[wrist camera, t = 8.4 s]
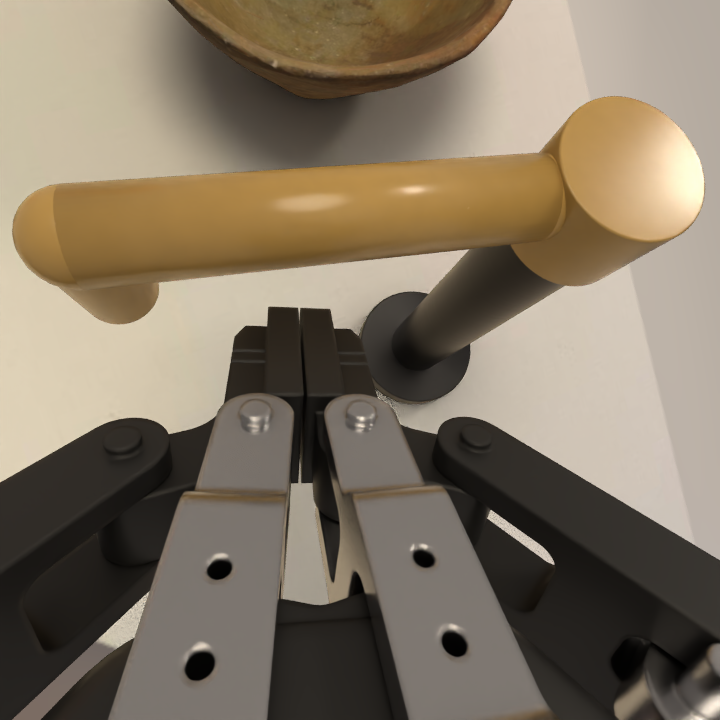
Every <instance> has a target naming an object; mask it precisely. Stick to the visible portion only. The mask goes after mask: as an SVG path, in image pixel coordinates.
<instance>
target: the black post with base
mask: <svg viewBox="0 0 720 720" xmlns="http://www.w3.org/2000/svg"><path fill="white" fill-rule="evenodd" d="M563 286H565V285H560V284H556V283H553V282H550V281H548V280H546V279H544V278H542V277H540V276H539V275H537V274H536V273H534V272H533V271H532V270H530V269H529V268H528V267H527V266H526V265H525V264H524V263H523V262H522V261H521V260H520V259H519V257H518V256H517V255H516V253H515V252H514V250H513V248H512V247H511V245H503V246H494V247H485V248H475V249H470V250H469V251H468V252H467V253H466V254H465V255H464V256H463V257H462V258H461V259H460V260H459V262H458V263H457V264H456V265H455V266H454V267H453V268H452V269H451V270H450V271H449V272H448V274H447V275H446V276H445V277H444V278H443V279H442V280H441V281H440V282H439V283H438V284H437V285H436V287H435V288H434V289H433V290H432V291H431V292H430V293H429V294H426V293H421V292H403V293H398V294H395V295H392V296H390V297H388V298H386V299H384V300H383V301H381V302H380V303H379V304H378V305H377V306H376V307H375V308H374V309H373V310H372V311H371V312H370V314H369V315H368V317H367V319H366V320H365V322H364V324H363V326H362V328H361V331H360V334H359V338H360V339H361V340H362V342H363V346H364V350H365V355H366V357H367V361H368V366H369V368H370V372H371V376H372V379H373V383H374V387H375V388H376V389H377V390H378V391H380V392H381V393H382V394H384V395H385V396H387V397H389V398H391V399H393V400H395V401H399V402H402V403H408V404H421V403H426V402H430V401H433V400H435V399H438V398H440V397H442V396H444V395H446V394H448V393H449V392H450V391H452V390H453V389H454V388H455V387H456V386H457V385H458V384H459V382H460V381H461V380H462V378H463V376H464V374H465V373H466V370H467V367H468V364H469V359H470V343H471V342H473V341H475V340H476V339H478V338H480V337H481V336H483V335H485V334H486V333H488V332H490V331H491V330H493V329H494V328H496V327H498V326H499V325H501V324H503V323H504V322H506V321H508V320H509V319H511V318H513V317H514V316H516V315H517V314H519V313H521V312H522V311H524V310H526V309H527V308H529V307H531V306H532V305H534V304H536V303H537V302H539V301H540V300H542V299H544V298H545V297H547V296H549V295H550V294H552V293H554V292H555V291H557V290H559V289H560V288H562V287H563Z"/></svg>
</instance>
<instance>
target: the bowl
mask: <svg viewBox="0 0 720 720" xmlns="http://www.w3.org/2000/svg"><path fill="white" fill-rule="evenodd" d="M168 1H169V2H170V3H171V4H172V5H173V6H174V7H175V8H176V10H177V11H178V12H179V13H180V14H181V15H182V16H183V17H184V18H185V19H186V20H187V21H188V22H189V23H190V24H191V25H192V26H193V27H194V28H195V29H196V30H197V31H198V32H199V33H200V34H201V35H202V36H203V37H205V38H206V39H207V40H208V41H209V42H210V43H212V44H213V45H214V46H215V47H217V48H218V49H220V50H221V51H222V52H224V53H225V54H226V55H228V56H229V57H230V58H232V59H233V60H234V61H236V62H237V63H238V64H240V65H242V66H243V67H245V68H246V69H248V70H250V71H252V72H254V73H255V74H257V75H259V76H261V77H263V78H265V79H267V80H269V81H271V82H273V83H275V84H277V85H279V86H281V87H282V88H284V89H286V90H288V91H290V92H292V93H294V94H295V95H297V96H300V97H303V98H307V99H331V98H338V97H344V96H350V95H357V94H363V93H366V92H374V91H379V90H384V89H389V88H394V87H398V86H401V85H403V84H406V83H409V82H411V81H414V80H417V79H419V78H422V77H425V76H428V75H430V74H432V73H435V72H437V71H439V70H441V69H443V68H445V67H447V66H449V65H451V64H453V63H454V62H456V61H458V60H460V59H462V58H464V57H466V56H467V55H469V54H470V53H471V52H472V51H474V50H475V49H476V48H477V47H478V45H479V44H480V43H481V42H482V41H483V40H484V39H485V38H486V37H487V36H488V35H489V33H490V32H491V31H492V30H493V29H494V27H495V26H496V25H497V24H498V23H499V21H500V20H501V19H502V17H503V16H504V14H505V13H506V11H507V9H508V7H509V6H510V4H511V2H512V0H168Z"/></svg>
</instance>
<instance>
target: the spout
mask: <svg viewBox="0 0 720 720" xmlns="http://www.w3.org/2000/svg"><path fill="white" fill-rule="evenodd" d="M704 194H705V179H704V174H703V168H702V165H701V161H700V159H699V157H698V154H697V152H696V150H695V148H694V146H693V144H692V143H691V141H690V140H689V138H688V137H687V135H686V134H685V133H684V132H683V131H682V129H681V128H680V127H679V126H678V125H677V124H676V123H675V122H674V121H673V120H672V119H670V118H669V117H668V116H667V115H666V114H664V113H663V112H661V111H660V110H658V109H656V108H655V107H653V106H651V105H649V104H647V103H644V102H642V101H639V100H636V99H632V98H627V97H619V96H610V97H603V98H599V99H595V100H592V101H590V102H588V103H586V104H584V105H583V106H581V107H579V108H578V109H577V110H576V111H575V112H574V113H573V114H572V115H571V116H570V117H569V118H568V120H567V121H566V122H565V123H564V124H563V125H562V127H561V128H560V129H559V130H558V131H557V132H556V134H555V135H554V136H553V137H552V138H551V139H550V141H549V142H548V143H547V144H546V145H545V146H544V148H543V149H542V150H541V151H540V152H539V153H528V154H513V155H497V156H482V157H466V158H451V159H435V160H419V161H404V162H388V163H373V164H357V165H342V166H326V167H311V168H295V169H280V170H264V171H249V172H233V173H218V174H202V175H187V176H171V177H156V178H140V179H125V180H109V181H94V182H78V183H63V184H55V185H49V186H47V187H44V188H41V189H39V190H37V191H35V192H34V193H32V194H31V195H29V196H28V197H27V198H26V199H25V200H24V201H23V202H22V204H21V205H20V206H19V208H18V210H17V212H16V214H15V217H14V220H13V229H12V235H13V241H14V245H15V248H16V250H17V252H18V254H19V256H20V258H21V259H22V260H23V262H24V263H25V265H26V266H27V267H28V268H29V269H30V270H31V271H32V272H33V273H34V274H36V275H37V276H38V277H39V278H41V279H43V280H45V281H46V282H48V283H50V284H52V285H55V286H58V287H59V288H60V289H61V290H63V291H64V292H65V293H66V294H68V295H69V296H70V297H71V298H72V299H74V300H75V301H76V302H77V303H79V304H80V305H81V306H82V307H83V308H85V309H86V310H87V311H88V312H89V313H91V314H92V315H93V316H94V317H96V318H97V319H99V320H101V321H104V322H107V323H111V324H126V323H131V322H134V321H136V320H139V319H140V318H142V317H144V316H145V315H146V314H147V313H148V312H149V311H150V310H151V309H152V308H153V306H154V305H155V303H156V301H157V298H158V294H159V284H158V283H159V282H168V281H178V280H187V279H196V278H205V277H215V276H224V275H233V274H243V273H252V272H261V271H271V270H280V269H289V268H299V267H308V266H317V265H326V264H336V263H345V262H354V261H364V260H373V259H382V258H392V257H401V256H410V255H420V254H429V253H438V252H447V251H457V250H466V249H475V248H485V247H494V246H503V245H511V247H512V248H513V250H514V252H515V253H516V255H517V256H518V257H519V259H520V260H521V261H522V262H523V263H524V264H525V265H526V266H527V267H528V268H529V269H530V270H532V271H533V272H534V273H536V274H537V275H539V276H540V277H542V278H544V279H546V280H548V281H550V282H553V283H556V284H560V285H565V286H584V285H588V284H592V283H594V282H597V281H599V280H600V279H602V278H604V277H606V276H608V275H609V274H611V273H613V272H615V271H616V270H618V269H620V268H622V267H624V266H625V265H627V264H629V263H630V262H632V261H634V260H636V259H638V258H640V257H641V256H643V255H645V254H647V253H649V252H650V251H652V250H654V249H656V248H657V247H659V246H661V245H663V244H665V243H666V242H668V241H670V240H672V239H673V238H675V237H677V236H679V235H680V234H682V233H683V232H684V231H686V230H687V229H688V228H689V227H690V226H691V225H692V224H693V223H694V221H695V219H696V218H697V216H698V215H699V213H700V210H701V208H702V205H703V200H704Z"/></svg>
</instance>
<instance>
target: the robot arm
mask: <svg viewBox="0 0 720 720" xmlns="http://www.w3.org/2000/svg"><path fill="white" fill-rule="evenodd" d="M299 461H300V463H301V483H313V495H314V501H315V504H316V508H315V517H316V523H317V529H318V536H319V542H320V548H321V554H322V560H323V566H324V572H325V578H326V584H327V591H328V599H329V604H326V605H312V604H306V603H301V602H296V601H291V600H285V599H283V591H284V578H285V565H286V552H287V539H288V527H289V512H290V491H291V483H298V477H299ZM490 510H492V511H494V512H495V513H496V514H498V515H499V516H501V517H502V518H503V519H505V520H506V521H508V522H509V523H510V524H512V525H513V526H515V527H516V528H517V529H519V530H520V531H522V532H523V533H525V534H526V535H527V536H529V537H530V538H532V539H533V540H534V541H536V542H537V543H539V544H540V545H541V546H543V547H544V548H545V549H546V550H547V551H548V553H549V554H550V555H551V557H552V559H553V561H554V564H555V565H553V564H550V563H548V562H546V561H545V560H543V559H542V558H541V557H539V556H538V555H536V554H535V553H534V552H532V551H531V550H530V549H528V548H527V547H525V546H524V545H523V544H521V543H520V542H519V541H517V540H516V539H514V538H513V537H512V536H510V535H509V534H508V533H506V532H505V531H503V530H502V529H501V528H499V527H498V526H497V525H495V524H494V523H492V522H491V521H490V520H488V519H487V517H488V515H489V512H490ZM149 591H150V592H149ZM148 592H149V595H148V598H147V601H146V604H145V607H144V610H143V613H142V616H141V620H140V623H139V626H138V629H137V632H136V635H135V638H133V639H131V640H130V641H128V642H126V643H125V644H123V645H122V646H120V647H119V648H117V649H116V650H114V651H113V652H112V653H110V654H109V655H107V656H106V657H105V658H104V659H103V660H101V661H100V662H99V663H98V664H97V665H95V666H94V667H93V668H92V669H91V670H89V671H88V672H87V673H86V674H85V675H84V676H83V677H82V678H81V679H80V680H79V681H78V682H77V683H76V684H75V685H74V686H73V687H72V688H71V689H70V690H69V691H68V692H67V693H66V694H65V695H64V696H63V697H62V698H61V699H60V700H59V701H58V702H57V704H56V705H55V706H54V707H53V708H52V709H51V710H50V711H49V712H48V713H47V714H46V715H45V716H44V717H43V718H42V719H41V720H720V560H718V559H716V558H715V557H713V556H711V555H710V554H708V553H706V552H705V551H703V550H701V549H700V548H698V547H697V546H695V545H693V544H692V543H690V542H688V541H687V540H685V539H683V538H682V537H680V536H678V535H677V534H675V533H673V532H671V531H670V530H668V529H666V528H665V527H663V526H661V525H660V524H658V523H656V522H655V521H653V520H651V519H650V518H648V517H646V516H645V515H643V514H641V513H640V512H638V511H636V510H635V509H633V508H631V507H630V506H628V505H626V504H625V503H623V502H621V501H620V500H618V499H616V498H615V497H613V496H611V495H610V494H608V493H606V492H604V491H603V490H601V489H599V488H598V487H596V486H594V485H593V484H591V483H589V482H588V481H586V480H584V479H583V478H581V477H579V476H578V475H576V474H574V473H573V472H571V471H569V470H568V469H566V468H564V467H563V466H561V465H559V464H558V463H556V462H554V461H553V460H551V459H549V458H548V457H546V456H544V455H543V454H541V453H539V452H538V451H536V450H534V449H532V448H531V447H529V446H527V445H526V444H524V443H522V442H521V441H519V440H517V439H516V438H514V437H512V436H511V435H509V434H507V433H506V432H504V431H502V430H501V429H499V428H497V427H496V426H494V425H492V424H490V423H488V422H486V421H483V420H480V419H477V418H471V417H456V418H452V419H449V420H447V421H445V422H444V423H443V424H442V425H441V426H440V427H439V430H438V434H437V435H436V434H432V433H428V432H423V431H419V430H415V429H411V428H408V427H405V426H402V425H400V423H399V421H398V419H397V416H396V414H395V412H394V410H393V409H392V408H391V407H390V406H389V405H388V404H387V403H385V402H384V401H382V400H380V399H378V398H377V394H376V390H375V387H374V383H373V379H372V376H371V372H370V368H369V366H368V361H367V357H366V355H365V350H364V346H363V342H362V340H361V339H360V338H359V337H358V336H357V335H356V334H355V333H354V332H353V331H352V330H351V329H334V327H333V321H332V316H331V311H330V309H314V308H300V320H299V312H298V308H291V307H268V323H267V326H245V327H244V328H243V329H242V330H241V331H240V332H239V333H238V334H237V335H236V336H235V338H234V344H233V352H232V357H231V363H230V369H229V375H228V382H227V388H226V394H225V400H224V404H223V405H222V406H221V408H220V409H219V411H218V413H217V416H215V417H214V418H213V419H212V420H210V421H209V422H207V423H205V424H203V425H201V426H199V427H196V428H194V429H190V430H186V431H182V432H177V433H173V434H168V432H167V430H166V429H165V428H164V427H163V426H162V425H160V424H159V423H157V422H155V421H152V420H148V419H143V418H125V419H119V420H115V421H111V422H108V423H106V424H103V425H101V426H99V427H97V428H95V429H93V430H92V431H90V432H88V433H86V434H85V435H83V436H81V437H79V438H78V439H76V440H74V441H72V442H71V443H69V444H67V445H65V446H64V447H62V448H60V449H58V450H57V451H55V452H53V453H51V454H49V455H48V456H46V457H44V458H42V459H41V460H39V461H37V462H35V463H34V464H32V465H30V466H28V467H27V468H25V469H23V470H21V471H20V472H18V473H16V474H14V475H13V476H11V477H9V478H7V479H6V480H4V481H2V482H0V720H12V719H13V718H14V717H15V716H16V715H17V714H18V713H19V712H20V711H21V710H23V709H24V708H25V707H26V706H27V705H28V704H29V703H30V702H31V701H32V700H33V699H34V698H35V697H36V696H38V695H39V694H40V693H41V692H42V691H43V690H44V689H45V688H46V687H47V686H48V685H49V684H50V683H51V682H53V680H55V679H56V678H57V677H58V676H59V675H60V674H61V673H62V672H63V671H64V670H65V669H66V668H67V667H68V666H69V665H71V664H72V663H73V662H74V661H75V660H76V659H77V658H78V657H79V656H80V655H81V654H82V653H83V652H85V650H87V649H88V648H89V647H90V646H91V645H92V644H93V643H94V642H95V641H96V640H97V639H98V638H99V637H101V636H102V635H103V634H104V633H105V632H106V631H107V630H108V629H109V628H110V627H111V626H112V625H113V624H114V623H115V622H117V621H118V620H119V619H120V618H121V617H122V616H123V615H124V614H125V613H126V612H127V611H128V610H129V609H130V608H132V607H133V606H134V605H135V604H136V603H137V602H138V601H139V600H140V599H141V598H142V597H143V596H144V595H145V594H146V593H148Z"/></svg>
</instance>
